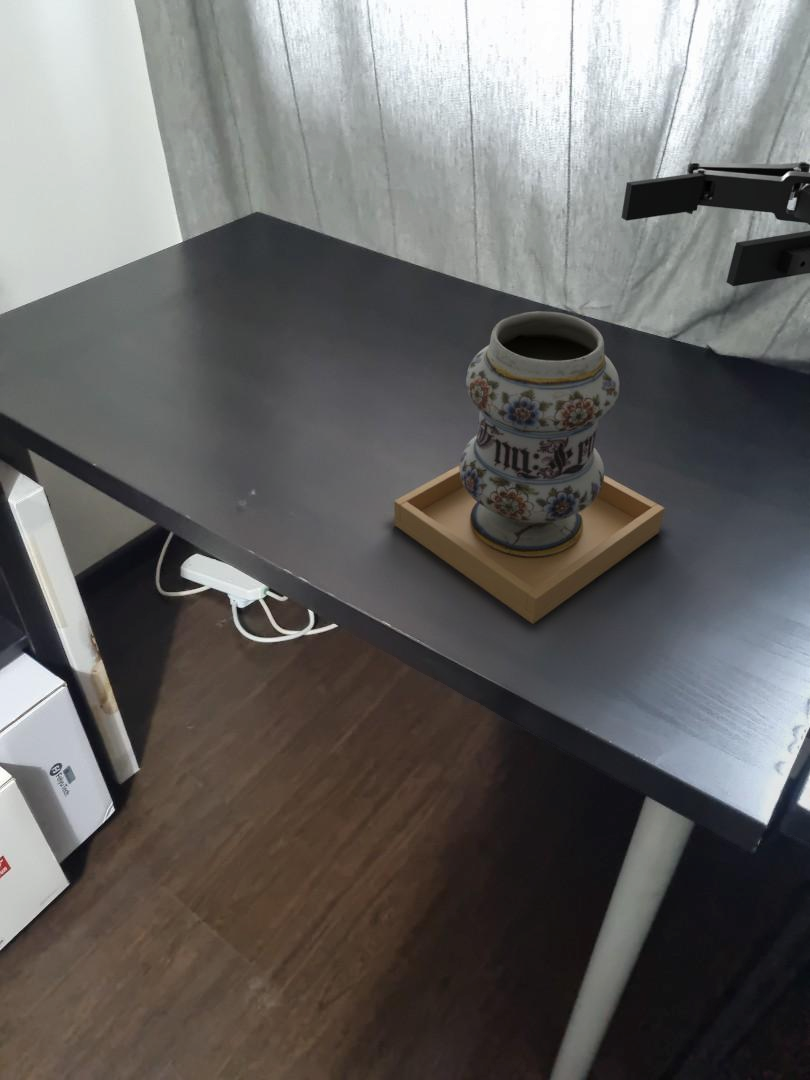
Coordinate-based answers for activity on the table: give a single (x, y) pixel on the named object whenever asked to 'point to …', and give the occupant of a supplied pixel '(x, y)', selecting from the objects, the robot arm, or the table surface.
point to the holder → (527, 581)
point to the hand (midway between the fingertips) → (675, 230)
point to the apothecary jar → (536, 431)
